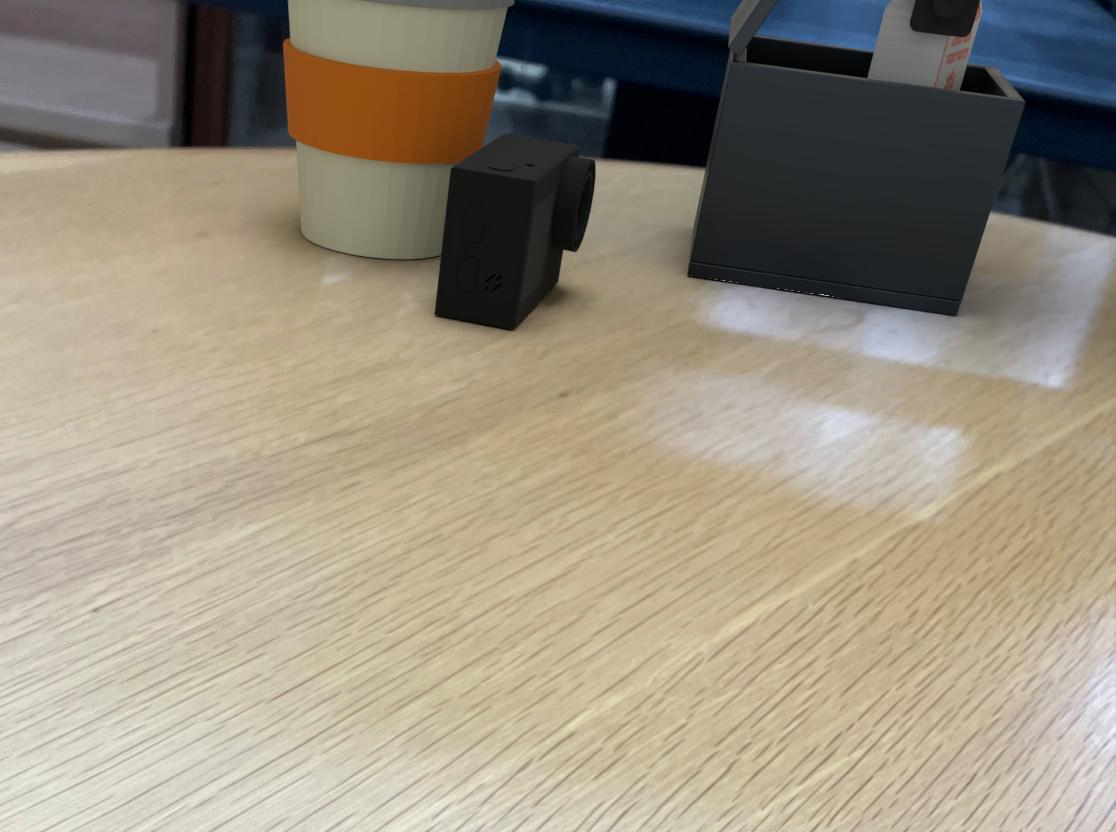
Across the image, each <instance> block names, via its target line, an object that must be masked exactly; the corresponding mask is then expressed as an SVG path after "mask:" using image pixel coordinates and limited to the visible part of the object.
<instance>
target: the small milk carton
mask: <svg viewBox="0 0 1116 832" xmlns="http://www.w3.org/2000/svg"><path fill="white" fill-rule="evenodd" d="M914 4H915V0H890V1H889V3H888V4H887V5H886V7H885V9H884V12H883V15H882V20H881V23H880V26H879V31H878V35H877V39H876V43H875V47H874V50H873V51H874V54H873V58H872V62H871V66H870V70H869V74H868V79H875V80H883V81H890V82H898V83H905V84H913V85H920V86H928V87H935V88H942V89H950V90H957V91H960V87H961V84H962V80H963V77H964V73H965V70H966V66H967V63H969V59H970V57H971V53H972V48H973V45H974V43H975V39H976V35H977V32H978V28H979V25H980V21H981V18H982V14H983V2H982V0H980V3H979V7H978V10H977V14H976V17H975V21H974V24H973V28H972V30H971V33H970V34H969V35H968V36H966V37H955V36H947V35H939V34H931V33H923V32H915V31H913V30H912V29H911V27H910V19H911V15H912V11H913V8H914Z"/></svg>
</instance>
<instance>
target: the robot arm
mask: <svg viewBox="0 0 1116 832" xmlns="http://www.w3.org/2000/svg"><path fill="white" fill-rule="evenodd" d="M979 3H980V0H915V4H914V8H913V11H912V15H911V19H910V27H911V29H912V30H913V31H915V32H923V33H931V34H939V35H947V36H955V37H966V36H968V35H969V34H970V33H971V30H972V28H973V24H974V21H975V17H976V14H977V10H978V7H979Z"/></svg>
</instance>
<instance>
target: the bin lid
mask: <svg viewBox="0 0 1116 832" xmlns="http://www.w3.org/2000/svg"><path fill="white" fill-rule="evenodd" d="M778 2H779V0H742V2H741V3H740V4H739V5H738V7H737V9H736V11H734V13H733V15H732V16H731V18H730V24H729V36H728V45H727V48H728V49H729V51H730V50H731V51H733V52H734V53H735V54H736V55H737V56H739V57H740V56H741V54H742V53H743V51H744V50H745V48H746V47H747V45H748V44H749V42H750V41H751V40H752V38H753V37H754V35H756V34H757V32H758V31H759V30H760V28H761V27H762V25H763V23H764V22H765V21H766V19H767V18H768V16H769V15H770V13H771V12H772V10H773V9H774V8H775V6H776V4H777V3H778Z"/></svg>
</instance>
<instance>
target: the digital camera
mask: <svg viewBox="0 0 1116 832" xmlns="http://www.w3.org/2000/svg"><path fill="white" fill-rule="evenodd" d="M579 154H580V146H579V145H578V144H571V143H566V142H560V141H554V140H548V139H541V138H536V137H530V136H523V135H518V134H512V133H503V134H501V135H500V136H498V137H496V138H494V139H493V140H491V141H490V142H488V143H486V144H484V145H483V147H482V148H480V149H479V150H477V151H476V152H474V153H473V154H471V155H470V156H468V157H467V158H465V159H464V160H462V161H461V162H460V163H458V164H457V165H455V166H454V167H452V168H451V172H450V180H449V188H448V197H447V206H446V215H445V224H444V233H443V242H442V251H441V255H440V260H439V261H440V262H439V270H438V278H437V289H436V297H435V307H434V315H435V316H437V317H445V318H451V319H457V320H462V321H467V322H471V323H472V322H473V323H477V324H481V325H482V324H483V325H488V326H493V327H498V328H503V329H508V330H513V329H514V328H515V327H517V326H518V325H519V323H521V322H522V321H523V320H524V319H525V317H526V316H528V314H529V313H530V312H531V311H532V310H533V309H534V308H535V307H536V306H537V305H538V304H539V303H540V302H541V301H542V299H543V298H544V297H546V296H547V294H549V292H550V291H552V289H553V288H554V287H555V286H556V285H557V284H558V283H559V280H560V274H561V267H562V262H563V255H564V251H567V252H572V253H577V252H578V251H579V249H580V247H581V245H582V242H583V239H584V238H585V235H586V234H585V233H586V231H587V228H588V224H589V219H590V215H591V211H592V205H593V199H594V194H595V187H596V177H597V171H596V170H597V168H596V167H597V166H596V161H595V159H594V158H586V157H581V156H580V155H579ZM579 156H580V157H579Z"/></svg>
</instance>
